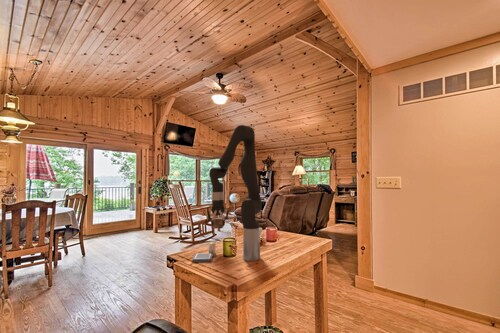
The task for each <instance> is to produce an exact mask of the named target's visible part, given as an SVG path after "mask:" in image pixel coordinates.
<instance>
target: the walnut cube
mask: <svg viewBox="0 0 500 333" xmlns="http://www.w3.org/2000/svg"><path fill="white" fill-rule="evenodd" d="M212 227H213V229H223V228H224V226H223V219H222V217H214V219H213V226H212Z"/></svg>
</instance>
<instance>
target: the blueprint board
mask: <svg viewBox="0 0 500 333" xmlns="http://www.w3.org/2000/svg"><path fill="white" fill-rule="evenodd" d="M213 257H214V254H213V253H209V252H202V253H201V252H198V253H196V252H195V254H194V255H193V256H192V260H191V263H211V262H212V260H213Z"/></svg>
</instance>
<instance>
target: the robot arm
mask: <svg viewBox="0 0 500 333" xmlns="http://www.w3.org/2000/svg"><path fill="white" fill-rule="evenodd" d="M255 137H256V135H255V130H254V128H253V127H252V126H249V125H244V124H239V125H237V126H236V127H235V128H234V130H233V132H232V135H231V136H230V139H229V142H228V144H227V146H226V149H225V151H224V152H223V153H222V155H221V156H220V158H219V160H218V166H219V167H216V166H214V167H211V168H210V170H209V173H208V174H209V179H210V183H211V186H212V187H211V189H212V193H211V209H207V211H206V212H207V213H206V214H207V218H208V220H209V221H211V226H212V227H213V219H214V218H216V216H220V218H222V219H223V227H224V226H225V225H226V220H228V217H229V212H230V209H228V208H225V194H224V183H223V182H221V181H220V179H223V178H225V177H226V175H227V173H228V170H229V167H230V166H231V163H233V161H234V159H235V156H236V150H237V147H238V145H239V144H240V143H241V142H243V146H244V148H243V149H244V150H243V155H242V158H241V160H240V176H241V179H242V181H243V183H244V185H245V187H246V190H247V194H248V198H246V199H244V200H242V202H241V206H240V216H241V218H240V219H241V223H242V244H243V245H242V246H243V247H242V253H243V254H242V257H243V260H245V261H248V262H256V261H260V260H261V242H260V228H261V226H260V222H259V221H258V220H257V219H256V215H258V214H259V213H261V211H262V207H263V205H262V199H261V193H260V188H259V179H258V170H257V169H258V168H257V160H256V140H255ZM211 212H212V213H213V215H212V216H211ZM224 212H225V213H226V215H225V216H224Z"/></svg>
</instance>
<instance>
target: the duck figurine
mask: <svg viewBox="0 0 500 333" xmlns="http://www.w3.org/2000/svg"><path fill="white" fill-rule="evenodd" d="M260 235H261V237H262V239H263V240H264V238H265V234H264V233H263V228H262V227H260Z"/></svg>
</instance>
